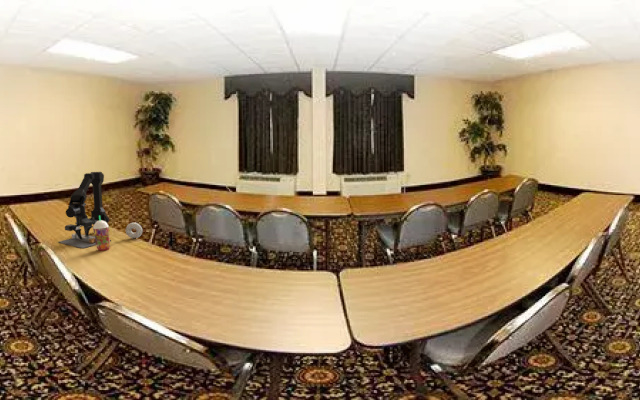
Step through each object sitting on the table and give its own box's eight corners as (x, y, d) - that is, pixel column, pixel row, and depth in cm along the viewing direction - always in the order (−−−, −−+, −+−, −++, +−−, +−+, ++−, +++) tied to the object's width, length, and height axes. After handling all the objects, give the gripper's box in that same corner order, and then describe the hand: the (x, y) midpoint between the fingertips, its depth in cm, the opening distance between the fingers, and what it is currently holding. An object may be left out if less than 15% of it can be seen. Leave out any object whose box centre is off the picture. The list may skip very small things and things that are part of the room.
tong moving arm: (76, 239, 299) (75, 235, 298) (78, 238, 300) (78, 234, 300) (92, 243, 288) (91, 239, 288) (94, 242, 289) (93, 238, 289)
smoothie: (96, 252, 272) (91, 218, 268) (95, 249, 279) (90, 215, 275) (112, 250, 276) (108, 216, 272) (110, 246, 283) (106, 213, 279)
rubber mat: (86, 235, 310) (86, 234, 310) (111, 241, 295) (111, 240, 295) (58, 242, 296) (58, 241, 295) (82, 248, 280) (82, 247, 280)
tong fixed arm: (72, 238, 301) (71, 233, 301) (78, 237, 305) (77, 231, 304) (92, 243, 288) (92, 237, 288) (99, 241, 292) (98, 236, 291)
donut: (125, 239, 297) (123, 223, 295) (127, 238, 301) (125, 222, 299) (142, 238, 298) (140, 222, 296) (143, 237, 301) (142, 221, 299)
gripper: (72, 218, 282) (76, 244, 285) (102, 212, 297) (105, 236, 300) (62, 216, 288) (66, 241, 291) (92, 210, 303) (95, 234, 306)
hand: (83, 238), depth 297 cm, fingers open, 3 cm apart
